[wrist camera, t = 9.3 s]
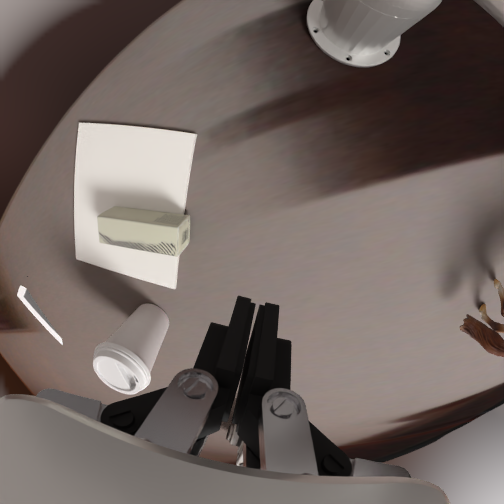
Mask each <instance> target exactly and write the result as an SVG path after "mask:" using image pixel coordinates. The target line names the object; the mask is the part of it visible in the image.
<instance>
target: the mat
mask: <svg viewBox="0 0 504 504" xmlns="http://www.w3.org/2000/svg"><path fill="white" fill-rule="evenodd" d="M196 136H197V134H193V133H187V132H180V131H172V130H165V129H156V128H148V127H138V126H127V125H115V124H101V123H79V128H78V137H77V148H76V161H75V182H74V228H75V249H76V259H78V260H81V261H84V262H87V263H90V264H93V265H96V266H99V267H102V268H105V269H108V270H111V271H115V272H118V273H121V274H124V275H128V276H131V277H134V278H137V279H141V280H144V281H148V282H151V283H154V284H158V285H161V286H165V287H168V288H172V289H175V288H176V283H177V273H178V262H179V256H178V257H176V256H170V255H164V254H159V253H153V252H147V251H141V250H136V249H131V248H126V247H120V246H115V245H109V244H103V243H100V242H99V232H98V221H97V216H98V215H100V214H101V213H103V212H105V211H106V210H108V209H110V208H112V207H114V206H117V207H126V208H134V209H142V210H150V211H158V212H166V213H174V214H182V215H184V212H185V204H186V197H187V190H188V184H189V177H190V171H191V165H192V158H193V153H194V147H195V141H196Z"/></svg>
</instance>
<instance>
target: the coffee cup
mask: <svg viewBox="0 0 504 504" xmlns="http://www.w3.org/2000/svg"><path fill="white" fill-rule="evenodd" d="M168 327H169V319H168V316H167V315H166V313H165V312H164V311H163V310H162V309H161V308H159V307H158V306H156V305H153V304H148V303H147V304H142V305H140V306H139V307H138V308H137V309H136V310H135V311H134V312H133V313H132V314H131V316H130V317H129V318H128V319H127V320H126V321H125V322H124V323H123V324H122V325H121V326H120V327H119V328H118V329H117V330H116V331H115V332H114V333H113V334H112V335H111V336H110V337H109V338H108V339H107V340H106V342H104V343H101V344H99V345H98V346H97V347H96V349H95V351H94V361H93V367H94V370H95V372H96V374H97V375H98V377H99V378H100V379H101V380H102V381H103V382H104V383H105V384H106V385H108V386H109V387H111V388H112V389H114V390H116V391H118V392H121V393H124V394H136V393H137V392H139V391H141V390H143V389H144V388H146V387H147V386H148V385H149V383H150V380H151V376H150V372H151V370H152V367H153V364H154V362H155V359H156V357H157V354H158V352H159V349H160V347H161V344H162V342H163V339H164V337H165V334H166V332H167V330H168Z"/></svg>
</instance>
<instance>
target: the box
mask: <svg viewBox="0 0 504 504" xmlns="http://www.w3.org/2000/svg"><path fill="white" fill-rule="evenodd" d="M97 221H98V232H99V242H100V243H103V244H109V245H115V246H120V247H126V248H131V249H136V250H141V251H147V252H153V253H159V254H164V255H170V256H176V257H178V256H179V255H180V254H181V253H182V251H183V250H184V249H185V248H186V246H187V245H188V244H189V237H190V216H189V215H182V214H174V213H166V212H158V211H150V210H142V209H134V208H126V207H117V206H114V207H112V208H110V209H108V210H106V211H105V212H103V213H101V214H100V215H98V216H97Z"/></svg>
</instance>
